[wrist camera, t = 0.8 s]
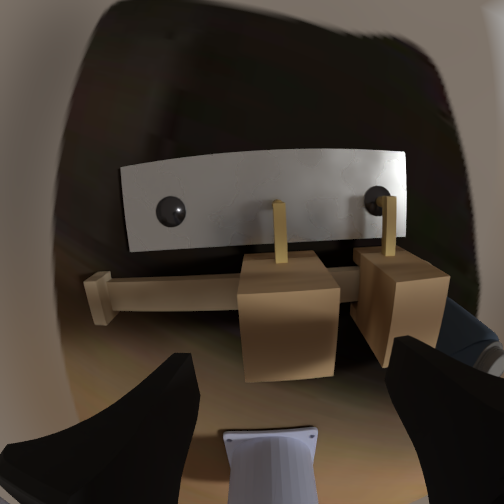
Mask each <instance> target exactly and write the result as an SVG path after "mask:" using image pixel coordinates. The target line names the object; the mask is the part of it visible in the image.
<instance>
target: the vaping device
mask: <svg viewBox="0 0 504 504" xmlns="http://www.w3.org/2000/svg"><path fill="white" fill-rule="evenodd" d="M435 349H437V350H439V351H441V352H443V353H445V354H446V355H448V356H450V357H452V358H454V359H456V360H458V361H460V362H462V363H464V364H467V365H469V366H471V367H473V368H475V369H478V370H480V371H483V372H486V373H488V374H491V375H494V376H497V377H500V376H501V375H502V374H503V372H504V350H503V346H502V343H500V342H499V339H498V336H497V335H496V334H495V333H494V332H493V331H492V330H491V329H489V328H488V327H487V326H486V325H484V324H483V323H482V322H481V321H479V320H478V319H477V318H475V317H474V316H473V315H472V314H470V313H469V312H468V311H466V310H465V309H464V308H462V307H461V306H460V305H458V304H457V303H456V302H454V301H453V300H452V299H450V298H449V297H447V298H446V303H445V308H444V313H443V318H442V322H441V327H440V331H439V335H438V339H437V343H436V347H435Z"/></svg>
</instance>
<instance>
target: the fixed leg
mask: <svg viewBox="0 0 504 504" xmlns="http://www.w3.org/2000/svg"><path fill="white" fill-rule="evenodd" d="M376 204H377V205H378V206H379V207H382V246H377V247H360V248H353V261H354V262H355V263H356V264H357V265H358V266H359V267H360V280H359V295H358V302H355V303H351V306H350V315H351V317H352V318H353V320H354V321H355V323H356V325H357V326H358V328H359V329H360V331H361V333H362V334H363V336H364V338H365V339H366V341H367V343H368V344H369V346H370V348H371V349H372V351H373V353H374V354H375V356H376V358H377V359H378V361H379V363H380V364H381V366H382V368H385V367H388V365H389V360H390V355H391V351H392V346H393V341H394V338H395V337H400V336H406V335H409V336H412V337H414V338H416V339H418V340H420V341H422V342H424V343H426V344H428V345H430V346H431V347H433V348H435V347H436V343H437V339H438V335H439V331H440V327H441V322H442V318H443V313H444V308H445V303H446V298H447V292H448V286H449V280H450V276H449V275H448V274H446V273H444V272H443V271H441V270H439V269H438V268H436V267H434V266H432V265H431V264H429V263H427V262H426V261H424V260H422V259H420V258H418V257H417V256H415V255H413V254H411V253H410V252H408V251H405V250H404V249H402V248H400V247H399V246H397V245H396V219H397V197H396V196H382V197H381V196H380V197H378V198H377V200H376Z"/></svg>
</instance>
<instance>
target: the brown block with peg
mask: <svg viewBox="0 0 504 504" xmlns="http://www.w3.org/2000/svg"><path fill="white" fill-rule="evenodd" d="M272 207H273V223H274V243H275V252H273V253H255V254H244V258H243V264H242V269H241V275H240V281H239V286H238V292H237V300H238V311H239V322H240V332H241V342H242V353H243V362H244V372H245V382H270V381H286V380H298V379H309V378H319V377H327V376H333V374H334V365H335V355H336V345H337V333H338V320H339V304H340V287H339V285H338V284H337V282H336V281H335V280H334V278H333V277H332V275H331V274H330V273H329V271H328V270H327V269H326V267H325V266H324V264H323V263H322V262H321V260H320V259H319V258H318V256H317V255H316V254H315V252H314V251H313V250H308V251H290V252H287V227H286V205H285V202H282V201H281V200H280V199H275V200H274V201H273V202H272Z"/></svg>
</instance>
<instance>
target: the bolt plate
mask: <svg viewBox="0 0 504 504" xmlns="http://www.w3.org/2000/svg"><path fill="white" fill-rule="evenodd" d="M121 180H122V192H123V202H124V211H125V219H126V227H127V234H128V241H129V248H130V252H138V251H153V250H169V249H185V248H201V247H218V246H235V245H252V244H269V243H274V223H273V207H272V202H273V201H274V200H275V199H280V200H281V201H282V202H285V205H286V227H287V242H305V241H324V240H343V239H363V238H382V207H379V206H378V205H377V204H376V200H377V198H378V197H380V196H381V197H382V196H396V197H397V219H396V237H405V234H406V165H405V152H397V151H381V150H360V149H285V150H262V151H246V152H233V153H221V154H211V155H201V156H192V157H184V158H176V159H169V160H162V161H155V162H149V163H143V164H137V165H131V166H126V167H121Z"/></svg>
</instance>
